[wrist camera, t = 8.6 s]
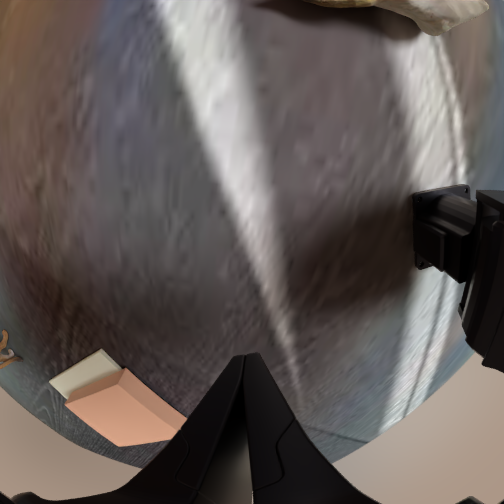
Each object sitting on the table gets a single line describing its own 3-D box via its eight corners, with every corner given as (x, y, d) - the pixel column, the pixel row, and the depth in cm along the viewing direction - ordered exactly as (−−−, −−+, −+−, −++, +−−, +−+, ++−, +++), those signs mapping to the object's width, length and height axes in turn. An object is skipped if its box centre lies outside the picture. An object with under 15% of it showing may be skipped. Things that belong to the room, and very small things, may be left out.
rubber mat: (101, 348, 24) (99, 351, 23) (198, 430, 28) (197, 432, 28) (50, 379, 27) (48, 381, 27) (127, 443, 32) (126, 445, 31)
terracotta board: (117, 384, 22) (64, 404, 25) (185, 436, 25) (118, 446, 27) (125, 367, 24) (71, 392, 27) (188, 419, 27) (123, 434, 30)
